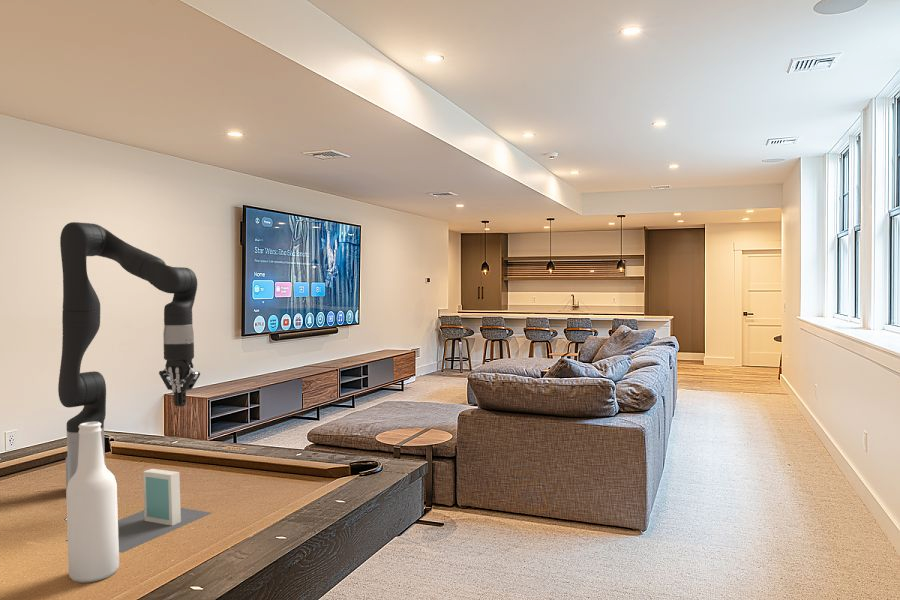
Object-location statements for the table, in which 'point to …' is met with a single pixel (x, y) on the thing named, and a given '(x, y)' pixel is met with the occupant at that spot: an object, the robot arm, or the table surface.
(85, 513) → the alcohol
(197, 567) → the table surface
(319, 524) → the table surface
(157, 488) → the tile
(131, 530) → the mat
